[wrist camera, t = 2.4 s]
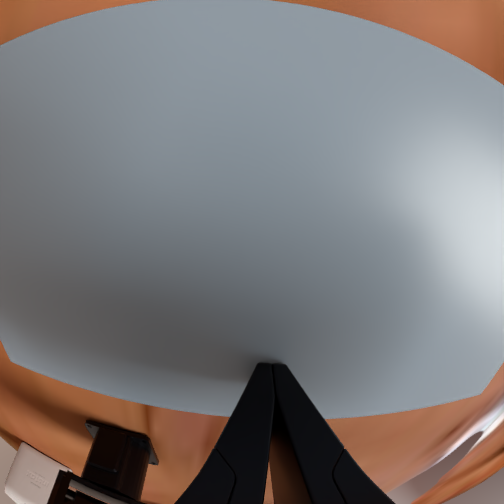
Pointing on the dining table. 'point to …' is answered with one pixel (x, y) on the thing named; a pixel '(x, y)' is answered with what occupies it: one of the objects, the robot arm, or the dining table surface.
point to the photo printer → (31, 476)
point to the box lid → (250, 207)
